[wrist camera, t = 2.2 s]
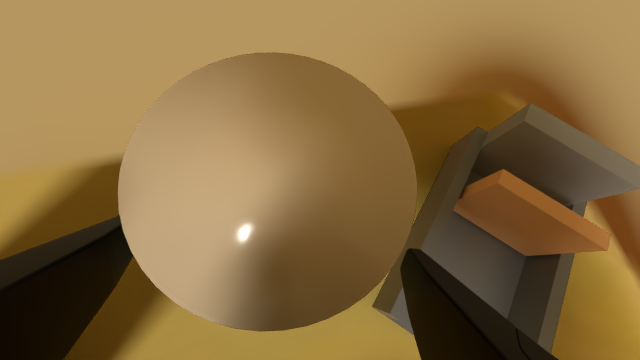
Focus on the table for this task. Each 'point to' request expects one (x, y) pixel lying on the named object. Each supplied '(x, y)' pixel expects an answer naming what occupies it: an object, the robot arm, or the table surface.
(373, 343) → the table surface
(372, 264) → the jar
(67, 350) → the robot arm
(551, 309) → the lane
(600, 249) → the plate
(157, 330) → the table surface
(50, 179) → the table surface
